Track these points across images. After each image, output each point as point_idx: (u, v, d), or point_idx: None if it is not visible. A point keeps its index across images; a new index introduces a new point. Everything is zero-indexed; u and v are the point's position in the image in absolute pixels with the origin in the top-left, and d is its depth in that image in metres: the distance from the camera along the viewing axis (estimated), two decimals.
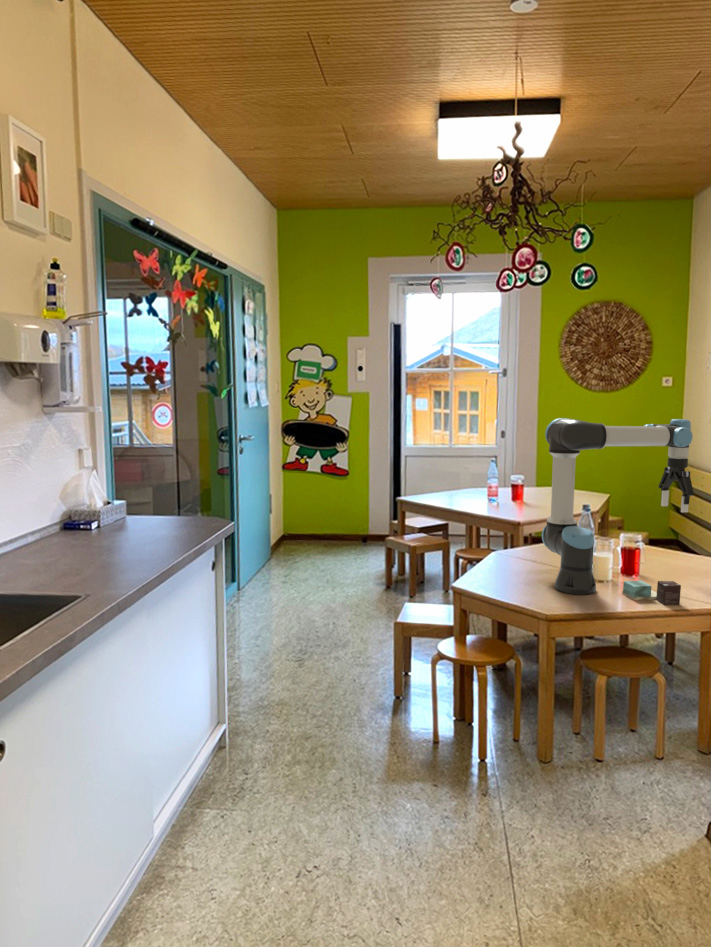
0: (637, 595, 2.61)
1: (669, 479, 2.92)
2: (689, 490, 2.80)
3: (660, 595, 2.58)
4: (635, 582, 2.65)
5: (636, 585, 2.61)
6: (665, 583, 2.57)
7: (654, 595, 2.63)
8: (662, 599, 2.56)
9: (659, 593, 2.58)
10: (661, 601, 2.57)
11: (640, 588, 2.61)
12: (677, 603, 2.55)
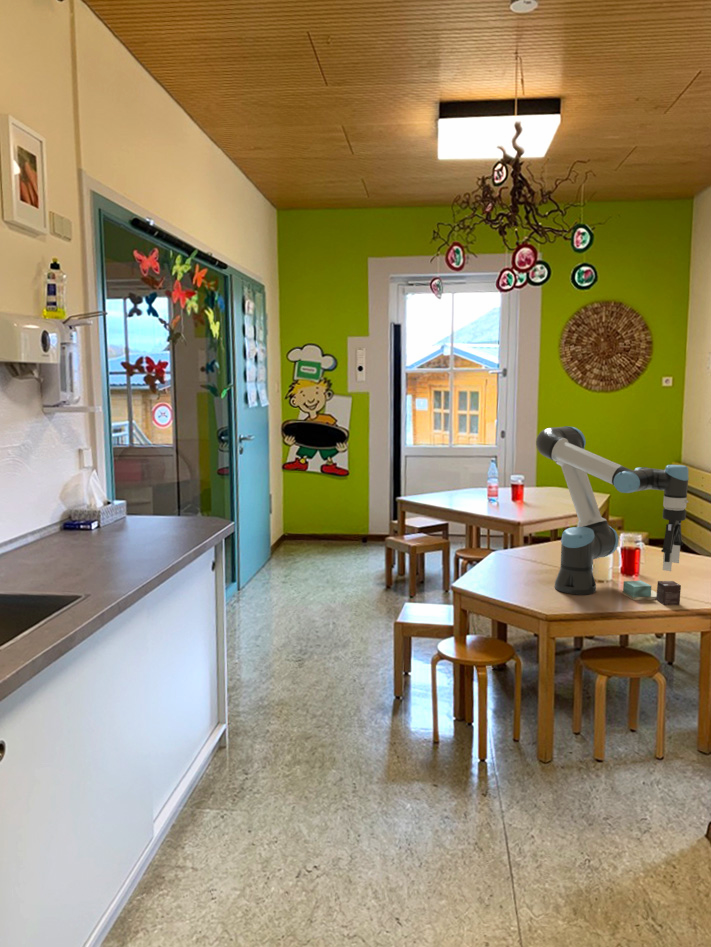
0: (637, 595, 2.61)
1: None
2: (665, 546, 2.48)
3: (660, 595, 2.58)
4: (635, 582, 2.65)
5: (636, 585, 2.61)
6: (665, 583, 2.57)
7: (654, 595, 2.63)
8: (662, 599, 2.56)
9: (659, 592, 2.58)
10: (661, 601, 2.57)
11: (640, 588, 2.61)
12: (677, 603, 2.55)
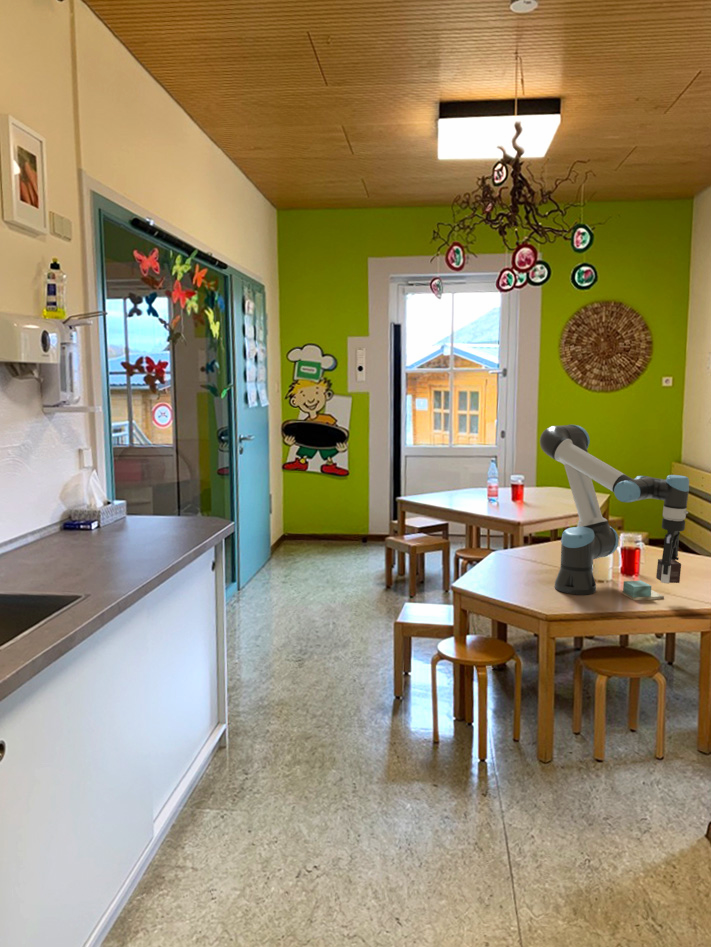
0: (637, 595, 2.61)
1: None
2: (664, 559, 2.50)
3: (660, 573, 2.57)
4: (635, 582, 2.65)
5: (636, 585, 2.61)
6: (665, 561, 2.56)
7: (654, 595, 2.63)
8: None
9: (659, 571, 2.58)
10: None
11: (640, 588, 2.61)
12: (677, 581, 2.55)
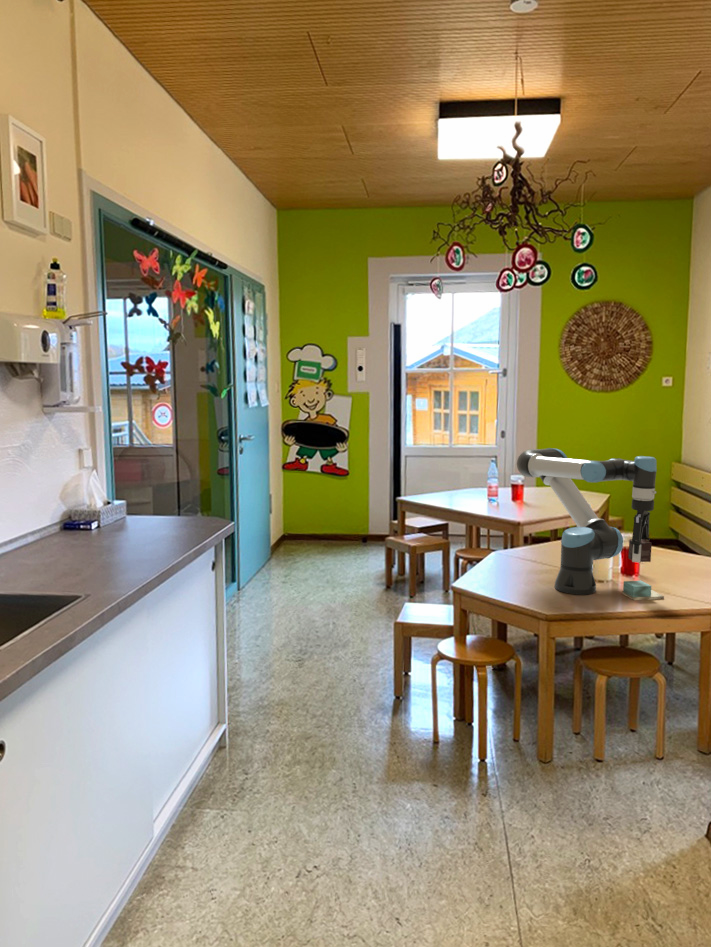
0: (637, 595, 2.61)
1: None
2: (634, 538, 2.56)
3: (631, 552, 2.62)
4: (635, 582, 2.65)
5: (636, 585, 2.61)
6: None
7: (654, 595, 2.63)
8: None
9: (631, 550, 2.63)
10: None
11: (640, 588, 2.61)
12: (648, 560, 2.60)
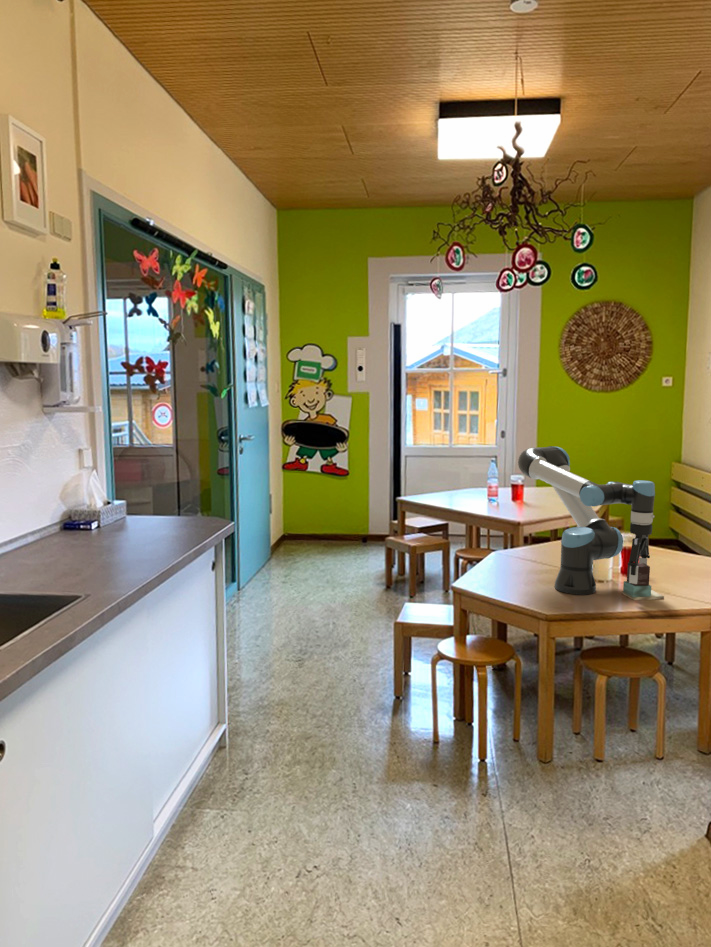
0: (637, 595, 2.61)
1: None
2: (631, 559, 2.55)
3: None
4: None
5: None
6: None
7: (654, 595, 2.63)
8: None
9: (629, 574, 2.64)
10: None
11: (640, 588, 2.61)
12: (646, 584, 2.61)
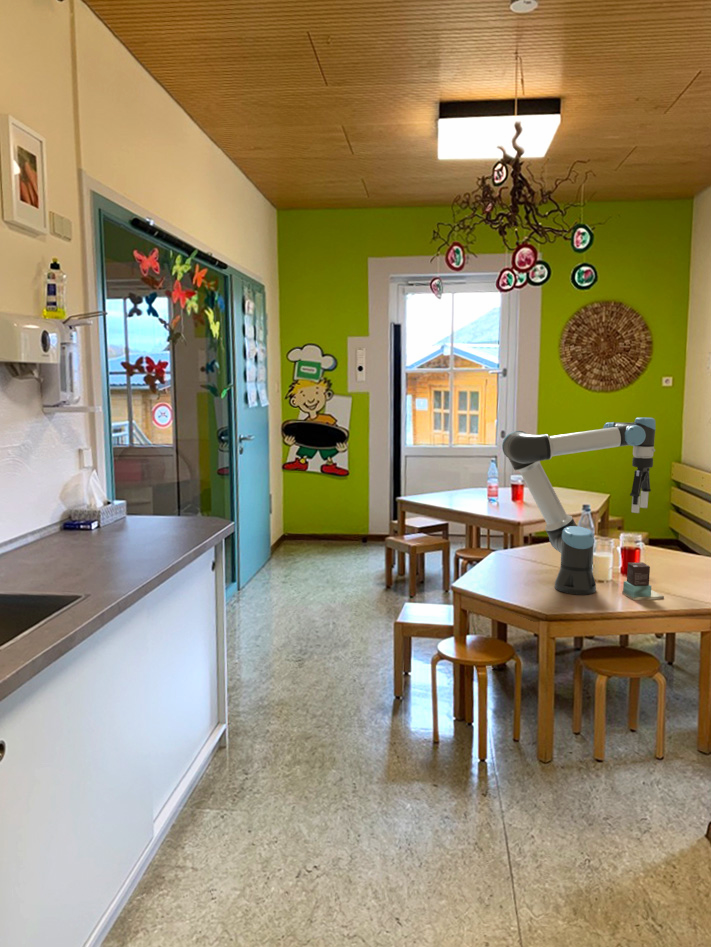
0: (637, 595, 2.61)
1: None
2: (634, 490, 2.74)
3: (630, 576, 2.63)
4: None
5: None
6: (634, 564, 2.63)
7: (654, 595, 2.63)
8: (632, 580, 2.62)
9: (629, 574, 2.64)
10: (631, 582, 2.63)
11: (640, 588, 2.61)
12: (646, 584, 2.61)
